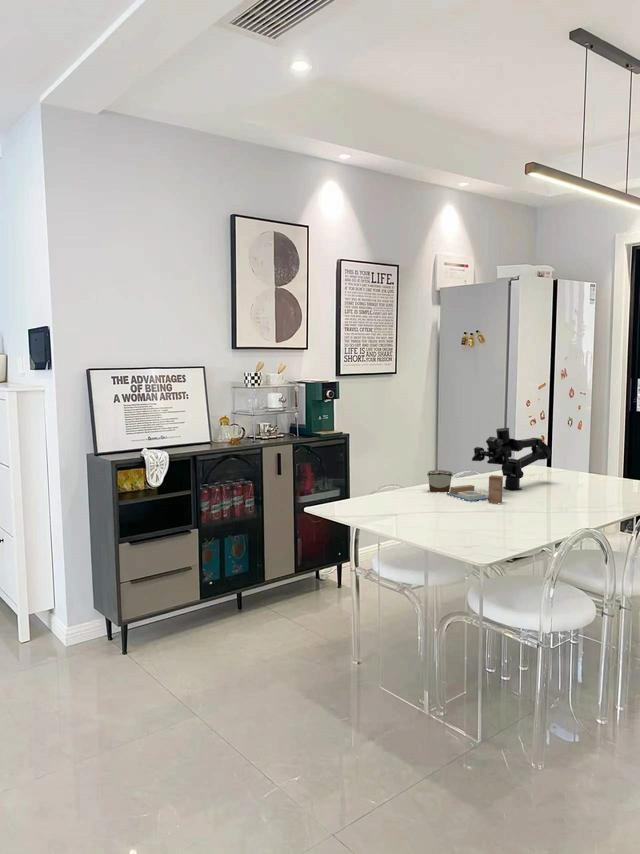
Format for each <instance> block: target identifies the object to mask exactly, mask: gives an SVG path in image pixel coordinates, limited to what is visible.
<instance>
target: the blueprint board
mask: <svg viewBox="0 0 640 854" xmlns="http://www.w3.org/2000/svg"><path fill="white" fill-rule="evenodd" d="M446 495H447V496H449V495H450V496H449V497H452V496H454V497H453V498H455V497H457V498H456V499H458V498H460V499H459V500H462V499H464V500H463V501H465V500H467V501H466V502H468V501H474V502H478V501H477V500H482V501H487V500H486V499H488V494H485V493H482V492H478V491H475V485H473V484H472V485H471V484H466V485H457V486H450V491H449V493H446Z"/></svg>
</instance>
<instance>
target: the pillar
mask: <svg viewBox="0 0 640 854" xmlns="http://www.w3.org/2000/svg"><path fill="white" fill-rule="evenodd" d="M503 481H504V476H503V475H497V474H491V475H489V477H488V493H487V495H488V500H487V503H488V502H489V503H488V504H494V503H500V504H502V502H503V489H504V488H503V487H504V486H503V485H504V482H503Z"/></svg>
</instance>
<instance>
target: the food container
mask: <svg viewBox="0 0 640 854" xmlns="http://www.w3.org/2000/svg"><path fill="white" fill-rule="evenodd" d="M427 477H428V488H429V493H437V492H450V487H451V482H452V477H453V472H452V471H450V470H445V469H444V470H442V469H439V470H438V469H435V470H434V469H433V470H428V472H427Z"/></svg>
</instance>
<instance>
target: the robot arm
mask: <svg viewBox="0 0 640 854" xmlns="http://www.w3.org/2000/svg"><path fill="white" fill-rule="evenodd" d="M495 431H496V436H489V437H488V438H487V439H486V441H485V443H486V444H487V446H488V447H487V449H486V450H485V448H484V447H481V446H476V447H474V448H473V451H474V455H473V457H472V458H471V461H472V462H482V461H484V460H485V458H486V457H488V460H487V462H486V463H487V464H488V465H489V464H492V465H501V471H502V476H503V477H505V483H504V485H505V486H503V489H505V490H509V491H518V490H523V488H522V487H520V482H521V479H522V478H523V477H524V472H523V470H522V469H524V468H526V467H527V466H530V465H531V464H533V463H535V462H537V461H541V460H548V459H550V458H551V456H552V450H551V448H550V447H549V445H548V444H546V443H544V441H543V440H542V439H541V438H539V437H531V438H525V439H524V438H523V439H515V438H511V437H510V427H501V428H497V429H496V430H495ZM526 448H530V449H531V452H530V453H528V454H525V455H524V456H522V457H520V458H517V459H516V458H512V456H513V455H512V454H513V452H521V451H522V450H523V449H526Z"/></svg>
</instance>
